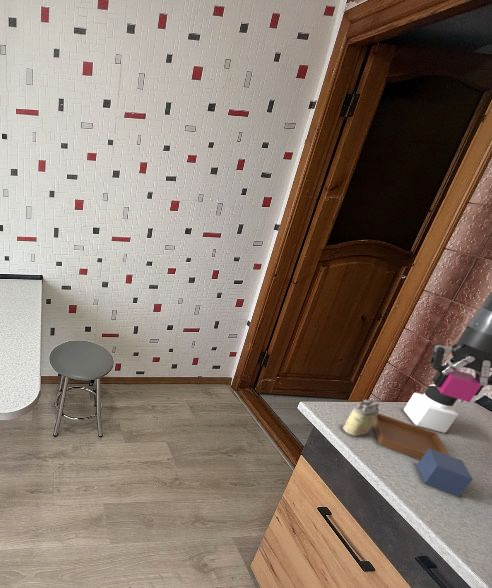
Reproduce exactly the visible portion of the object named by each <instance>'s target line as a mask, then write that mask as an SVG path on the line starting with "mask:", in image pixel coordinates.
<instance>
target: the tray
mask: <svg viewBox="0 0 492 588" xmlns="http://www.w3.org/2000/svg"><path fill="white" fill-rule="evenodd" d="M372 427H373V430H374V433H375V436H376V440H377V442H378V445H379V446H384V447H386V448H387V449H388V448H389V449H391V450H393V451H395V452H399V453H401V454H404V455H407V456H409V457H412V458H415V459H418V460H419V461H420V460H421V459H422V457H423V456H424V454H425V453H426V452H427V450H428V449H429V448H430V449H432V450H435V451H438V452H441V453H443V454H446V455H449V453H448V451H447V449H446V447H445V446H444V444H443V442H442V440H441V438H440V436H439V435H438V433H436V432H435V431H431V430H429V429H426V428H423V427H419V426H416V425H415V424H414V425H413V424H411V423H408V422H405V421H402V420H399V419H397V418H393V417H391V416H387V415H385V414H381V413H379V412H378V415H377V417H376V419H375V420H374V422H373V424H372Z"/></svg>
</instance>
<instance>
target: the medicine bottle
mask: <svg viewBox="0 0 492 588" xmlns="http://www.w3.org/2000/svg"><path fill="white" fill-rule="evenodd" d="M457 400H458V399H457V398H454V397H450V396H447V395H444V394H441V393H440V391H439V390H438V388H437V387H436V386H435V384H434V383H433V384H429V385H428V386H427V388H426V389H425V391H424V393H418V392H414V393H413V394H412V395H411V397H410V398H409V400H408V401H407V403H406V405H405V406H404V408H403V411H404V412H405V414H406V415H407V416H408V418H409V419H410V420H411V421H412V423H413V424H414V426H417V427H420V428H423V429H426V430H430V431H431V430H432V431H434V432H439V433H443V434H445V433H447V432H448V430H449V429H450V428H451V426H452V425H453V423H454V422H455V420H456V419H457V418H458V416H459V413H457V411H455V410H454V409H453V406H454V405H455V403H456V402H457Z"/></svg>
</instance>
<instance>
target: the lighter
mask: <svg viewBox="0 0 492 588" xmlns="http://www.w3.org/2000/svg"><path fill="white" fill-rule="evenodd" d="M379 406H380V404H379V403H377V402H375V403H374V401H373V400H372V399H371V400H369V399H364V400H363V401H358V404H356V405H355V406H354V407H353V409H352V410H351V412H350V414H349V416H348V417H347V419H346V421H345V424H343V426H342V429H343V431H344V432H345V433H347V434H348V435H350V436H354V437H357V436H361V437H363V436H364V435H366V434H368V432H369V430H370V429H371V427H372V426H373V422H374V420H375V419H376V417H377V415H378V413H379V412H380V409H379V408H378V407H379Z"/></svg>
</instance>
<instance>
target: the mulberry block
mask: <svg viewBox="0 0 492 588" xmlns="http://www.w3.org/2000/svg"><path fill="white" fill-rule="evenodd" d="M481 386H482V385H481V384H480V383H479V382H478V381H477V380H476V379H475V375H473V374H471V373H468V372H465V371H461V370H455V371H453V372H451V373H450V374H448V378H447V379H446V381H445V382H444V384H443V385H442V387H441V388H439V387H437V388H438V390H439V391H440V393H441V394H444V395H447V396H450V397H454V398H457V400H460V401H465V402H467V403H470V402H471V401H472V399H473V398H474V397H475V396H474V395H475V394H476V392H477V391H478V390H479V388H480V387H481Z"/></svg>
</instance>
